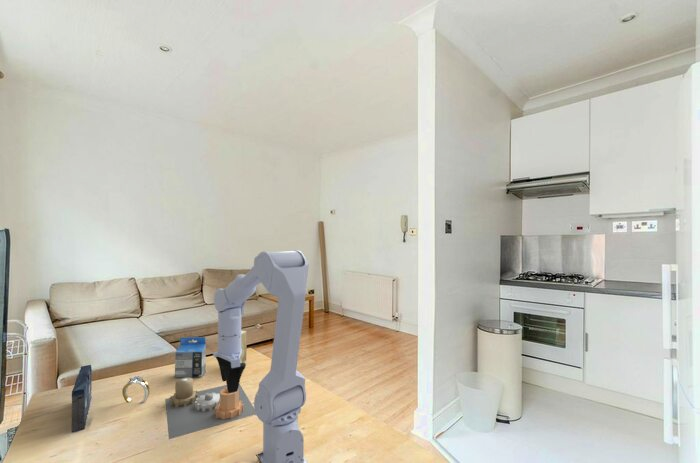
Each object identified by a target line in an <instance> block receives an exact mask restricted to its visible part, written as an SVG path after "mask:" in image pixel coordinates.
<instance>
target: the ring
mask: <svg viewBox="0 0 700 463" xmlns="http://www.w3.org/2000/svg"><path fill="white" fill-rule="evenodd" d="M133 384H137V385H140V386H142V387H143V388H142V389H143V390H144V396H143V397H144V398H143V399H142V400H141V401H140V404H143V403H145V402H146V401H148V398H149V396H150V390H151V389H150V385H149V383H148V382H147V381H146V380H145V379H144V378H143V377H142V376H139V375H135V376H134V377H129V381H128V382H126V384H124V385H123V387H122V390H121V391H122V392H121V393H122V397H123V398H124V401H125V402H126V403H131V402H133V400H132V399H131V398H130V397H129V394H128V390H129V386H132V385H133Z"/></svg>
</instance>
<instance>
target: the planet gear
mask: <svg viewBox="0 0 700 463" xmlns="http://www.w3.org/2000/svg"><path fill="white" fill-rule="evenodd" d="M228 393H229V392H228V389H227V388H224V389H222V390H221V391H220V403H219V404H218V406H217V407H215V414H216V418H222V419H228V418H234V417H235V416H237V415H240V414H241V411H243V404H242V401H239V389H238V390H237V392H233V393H229V394H228Z"/></svg>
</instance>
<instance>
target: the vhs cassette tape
mask: <svg viewBox="0 0 700 463" xmlns="http://www.w3.org/2000/svg"><path fill="white" fill-rule="evenodd" d="M92 371H93V369H92V365H91V364H88V365H82V366H80V369H79V371H78V375H77V377H76V379H75V383H74V386H73V389H72V390H71V433H76V432H79V431H82V430H85V429H86V424H87V421H86V420H88V416H87V415H89V412H88V411H90V407H91V403H90V402H92Z"/></svg>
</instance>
